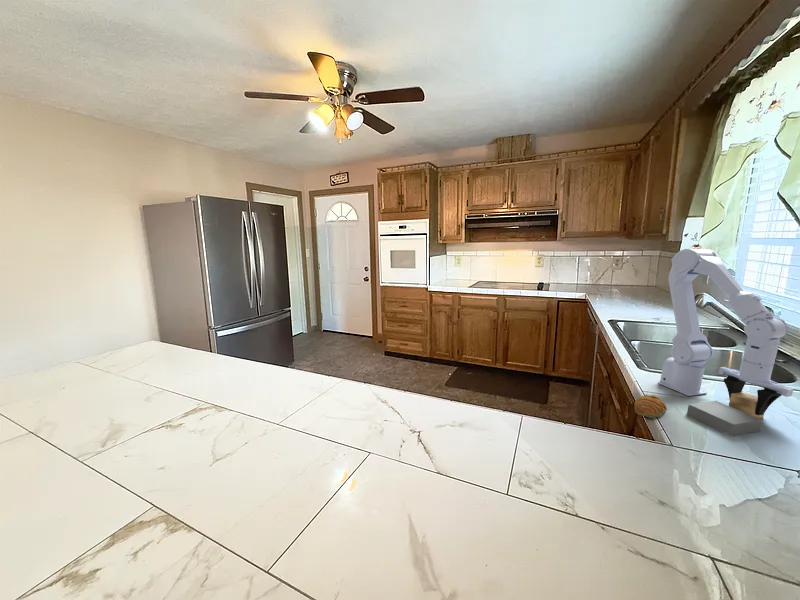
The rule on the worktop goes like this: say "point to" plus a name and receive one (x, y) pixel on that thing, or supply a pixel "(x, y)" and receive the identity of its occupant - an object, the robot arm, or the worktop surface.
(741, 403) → the oak block
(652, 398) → the pastry
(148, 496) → the worktop surface
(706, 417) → the gray block
